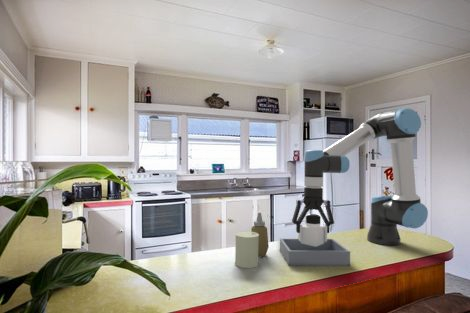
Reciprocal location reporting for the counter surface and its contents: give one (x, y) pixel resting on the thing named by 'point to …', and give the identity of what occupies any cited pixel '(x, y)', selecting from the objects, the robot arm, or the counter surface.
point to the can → (246, 249)
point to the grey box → (314, 253)
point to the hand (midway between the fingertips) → (312, 240)
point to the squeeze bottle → (261, 235)
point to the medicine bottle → (312, 231)
